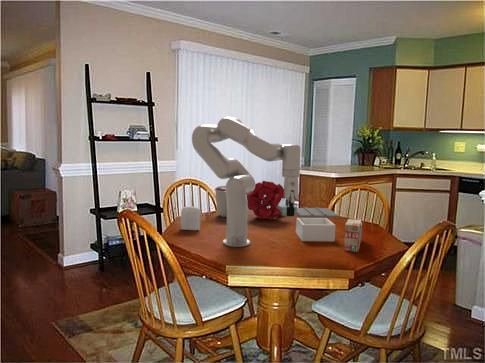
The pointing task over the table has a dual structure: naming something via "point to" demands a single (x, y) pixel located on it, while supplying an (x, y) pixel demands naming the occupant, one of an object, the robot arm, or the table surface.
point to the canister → (221, 200)
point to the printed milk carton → (352, 235)
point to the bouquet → (266, 200)
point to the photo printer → (190, 218)
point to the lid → (312, 212)
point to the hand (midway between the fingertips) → (289, 214)
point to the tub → (315, 229)
